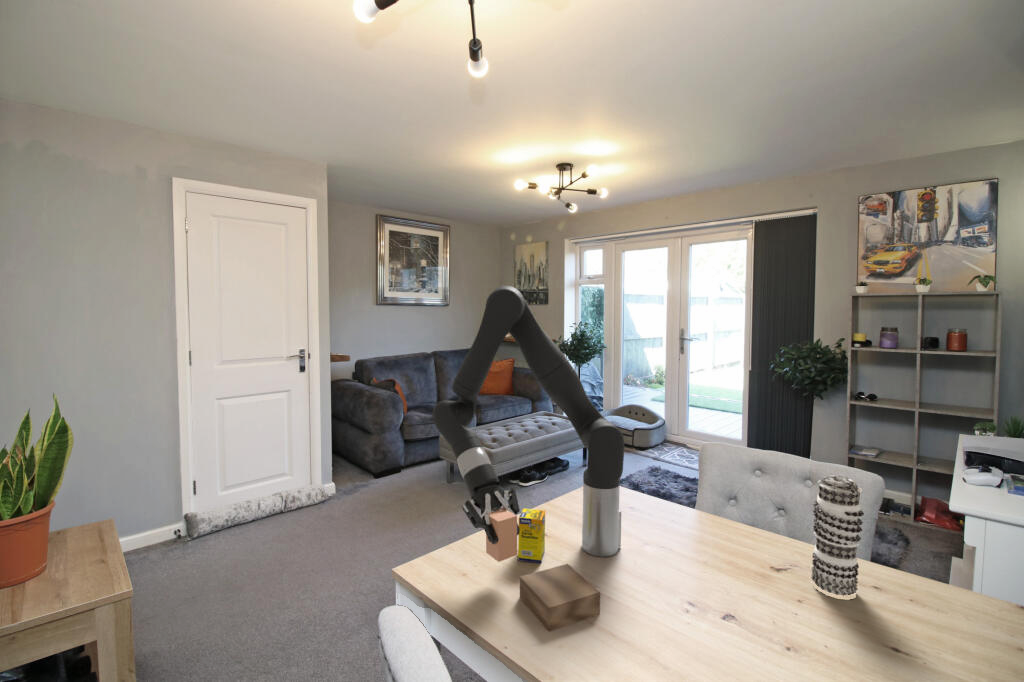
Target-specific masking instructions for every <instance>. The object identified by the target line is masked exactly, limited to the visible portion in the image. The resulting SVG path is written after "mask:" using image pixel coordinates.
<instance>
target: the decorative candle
mask: <svg viewBox="0 0 1024 682" xmlns="http://www.w3.org/2000/svg"><path fill="white" fill-rule="evenodd" d="M817 484H818V493H817V495H816V497H817V498H816V500H815V501H814V503H813V508H814V509H813V510H812V511H813V516H815V517H814V518H813V526H812V527H813V535H814V536H815V544H814V552H812V558H813V559H812V567H811V576H810V577H811V581H812V580H813V581H814V582H815V584H816V585H817V586H818V587H820V588H821V589H822V590H825V591H827V592H829V593H833V594H836V595H843V596H844V595H851V594H854V593H856V592H857V591H858V585H857V584H858V583H859V581H858V580H859V579H858V577H857V576H859V570H858V569H859V567H860V566H859V563H858V554H857V552H858V551H857V549H858V548H857V547H858V546H860V541H861V539H862V538H861V536H860V535H859V534H858V533H861V532H862V531H863V529H862V527H861V526H862V525H863V520H862V519H860V518H859V517H863V516H864V515H865V513H864V512H863V510H861V502H860V496H861V494H860V493H862V492H863V489H862V488H861V487H859V486H858V484H857V483H856V482H855V481H854V480H853V479H850V478H848V477H846V476H845V477H844V476H840V475H826V476H824V477H823V478H822V479H821V480H818V481H817Z"/></svg>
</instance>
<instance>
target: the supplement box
mask: <svg viewBox="0 0 1024 682" xmlns="http://www.w3.org/2000/svg"><path fill="white" fill-rule="evenodd" d="M518 526H519V528H520V531H519V534H518V538H517V561H521V562H529V563H535V564H536V563H537V564H542V561H543V557H544V556H545V555H544V554H545V552H546V551H545V549H546V547H545V543H546V510H544V509H534V508H532V509H531V508H522V510H521V513H520V514H519V517H518Z"/></svg>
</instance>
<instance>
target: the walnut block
mask: <svg viewBox="0 0 1024 682" xmlns="http://www.w3.org/2000/svg"><path fill="white" fill-rule="evenodd" d="M519 599H520V600H521V601H522V602H523V603H524V604H525V606H526V607H527V608H528V609H529V610H530V612H532V614H533V615H534V616H535V617H536V619H537V620H538V621H539V622H540V623H541V624H542V625H543V627H544V628H545V629H546V630H547V631H548V632H551V631H554V630H557V629H560V628H563V627H566V626H569V625H572V624H575V623H578V622H581V621H584V620H587V619H590V618H593V617H595V616H599V615H601V614H600V612H601V591H600V590H599V589H598V588H596V587H595V586H594V585H593V584H592V583H590V582H589V581H588V580H587V579H586V578H585V577H584V576H583V575H581V573H579V572H577V570H576V569H574V568H573V567H572V566H571V565H570V564H569V563H564V564H561V565H558V566H554V567H550V568H548V569H547V568H545V569H544V570H539V571H536V572H531V573H528V574H524V575H522V576H521V575H520V576H519Z"/></svg>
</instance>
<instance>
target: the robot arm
mask: <svg viewBox="0 0 1024 682" xmlns="http://www.w3.org/2000/svg"><path fill="white" fill-rule="evenodd" d="M481 319H482V320H481V323H480V327H479V328H478V331H477V334H476V336H475V337H474V341H473V343H472V345H471V347H470V348H469V350H468V352H467V353H466V356H465V358H464V359H463V362H462V363H461V365H460V367H459V370H457V371H458V372H457V374H456V376H455V378H454V379H453V382H452V386H451V389H452V391H453V392H454V394H455V395H457V396H458V397H459V398H458V399H457V400H448V399H447V400H440V401H438V402H437V403H436V404H435V405H434V406H433V410H432V419H433V423H434V425H435V427H436V429H437V430H438V431H439V433H440V434H441V436H442V437H443V439H445V441H446V443H448V444H449V445H450V447H451V449H452V452H453V455H454V457H455V459H456V463H457V465H458V469H459V473H460V475H461V477H462V480H463V482H464V484H465V487H466V489H467V492H468V494H469V495H470V498H471V499H470V500H468V499H467V500H466V501H465V502H464V503H463V504H462V506H461V509H462V511H463V512H464V514H465V515H466V517H467V518H468V520H469V521H470V523H471V525H472V526H473V528H475V529H483V530H484V532H485V536H486V535H487V537H488V540H489V541H490V542H492V544H496V543H497V542H498V540H499V539H498V536H497V534H496V532H495V529H494V527H493V525H492V524H491V519H490V517H489V516H490V515H491V512H494V511H497V510H500V509H503V510H508V511H510V512H511V513H513V514H515V515H517V516H518V514H519V513H520V512H521V511H520V505H519V502H518V497H517V493H516V490H515V489H514V488H511V489H509V490H508V489H507V490H505V489H504V488H502V486H501V485H500V480H499V478H498V475H497V473H496V471H495V469H494V467H493V465H492V462H491V460H490V457H489V456H488V454H487V452H486V450H484V447H483V445H482V442H481V441H480V438H479V436H478V434H477V433H476V431H475V430H473V429H470V428H468V426H469V425H470V424H471V423H472V421H473V419H474V417H475V412H476V406H477V402H478V396H479V393H480V391H481V390H482V387H483V385H484V383H485V381H486V379H487V377H488V374H489V372H490V370H491V367H492V365H493V362H494V360H495V357H496V356H497V352H498V351H499V350H500V347H501V345H502V343H503V342H504V340H505V338H506V336H507V335H508V334H510V335H511V337H512V338H513V339H514V340H515V342H516V344H517V346H518V347H519V349H520V351H521V353H522V356H523V357H524V360H525V362H526V364H527V366H528V368H529V370H530V371H531V374H532V375H533V376H534V379H536V380H537V382H538V383H539V385H540V386H541V387H542V389H543V390H544V391H545V393H546V394H547V395H548V396H549V398H550V399H551V400H552V401H553V402H554V403H555V405H556V406H557V407H558V408H559V409H560V410H561V411H562V412H563V413H564V414H565V416H566V417H567V419H568V420H569V422H570V423H571V425H572V426H573V428H574V430H575V432H576V434H577V436H578V437H579V439H580V441H581V442H582V445H583V446H584V448H585V449H586V450H587V465H586V466H587V467H586V469H584V471H583V476H582V477H583V481H582V484H583V485H582V487H583V488H582V529H581V530H582V532H581V534H582V535H581V547H582V549H583V551H585V553H587V554H590V555H593V556H596V557H611V556H614V555H616V554H617V553H618V552H619V549H620V548H621V546H622V543H621V542H622V541H621V540H622V511H621V510H620V490H621V489H620V488H621V487H620V485H621V484H620V483H621V477H622V475H623V473H624V472H623V471H624V457H625V439H624V434H623V433H622V431H621V430H620V428H619V427H618V426H616V425H614V424H613V423H611V422H610V421H609V420H608V419H606V418H605V417H604V415H602V414H601V412H600V411H599V410H598V409H597V407H595V405H594V404H593V403H592V401H591V400H590V398H589V397H588V394H587V393H586V390H585V388H584V385H583V383H582V381H581V378H580V377H579V375H578V374H577V371H576V370H575V369H574V366H572V364H571V363H570V361H569V360H568V358H567V357H566V356H565V354H563V352H562V351H561V350H560V348H559V347H558V346H557V344H556V343H555V342H554V341H553V340H552V338H551V337H550V336H549V335H548V334H547V332H546V331H544V328H542V326H540V323H538V321H537V319H536V317H535V316H534V314H533V312H532V310H531V309H530V307H529V306H528V303H527V302H526V299H525V297H524V296H523V294H522V293H521V292H520V291H519V290H518V289H517V288H515V287H514V286H510V285H501V286H498V287H496V288H495V289H494V290H493V291H491V293H490V294H489V295H488V297H487V298H486V302H485V308H484V312H483V316H482V318H481ZM504 497H505V498H504ZM476 508H477V509H479V512H478V511H477V509H476ZM519 531H520V528H519V523H517V536H519Z"/></svg>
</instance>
